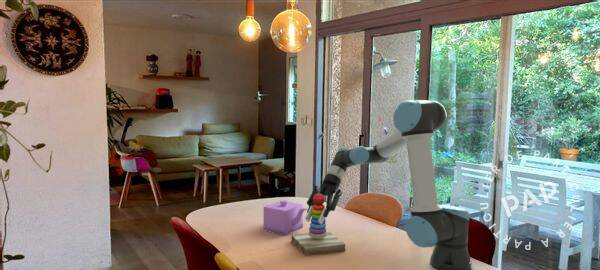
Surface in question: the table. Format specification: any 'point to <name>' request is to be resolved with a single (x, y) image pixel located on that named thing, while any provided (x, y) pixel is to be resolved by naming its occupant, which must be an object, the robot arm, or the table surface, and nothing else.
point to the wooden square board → (317, 244)
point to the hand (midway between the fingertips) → (313, 221)
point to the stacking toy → (317, 218)
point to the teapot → (283, 217)
